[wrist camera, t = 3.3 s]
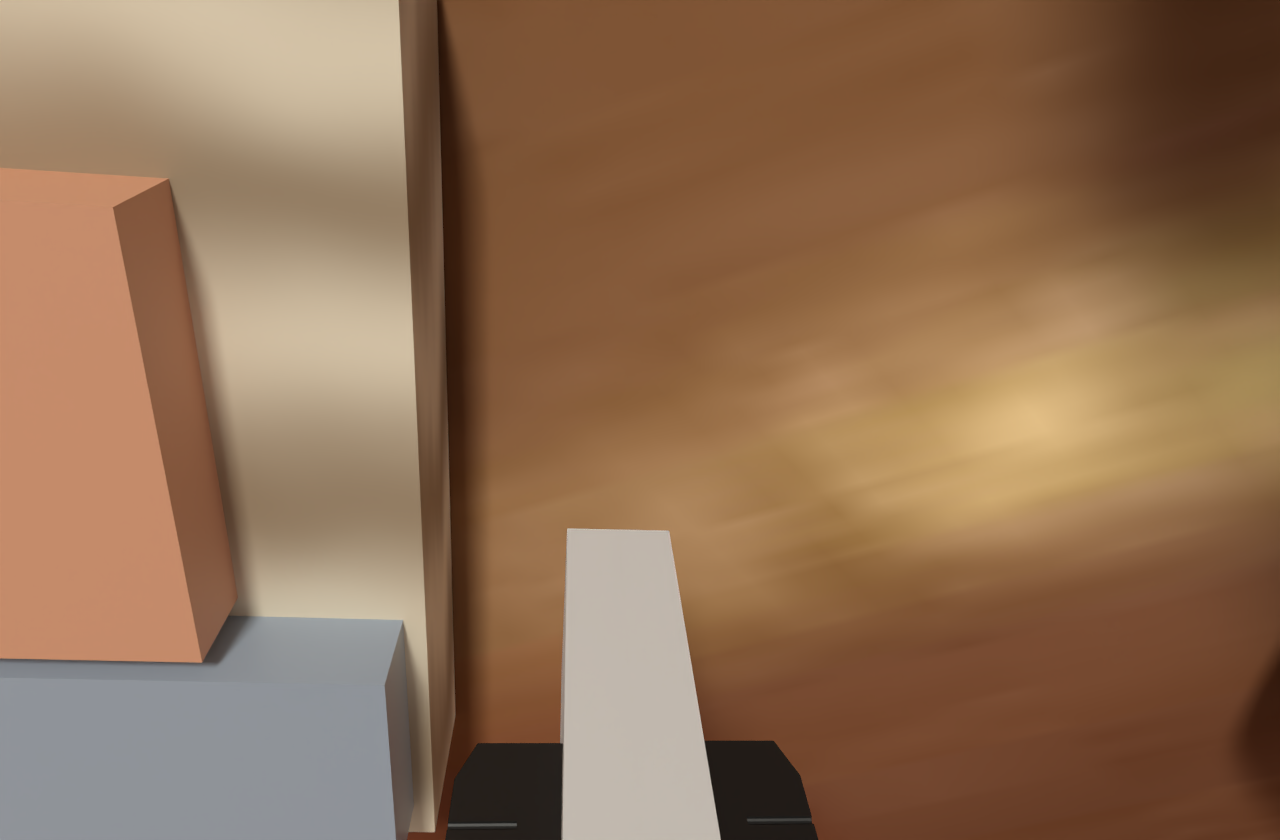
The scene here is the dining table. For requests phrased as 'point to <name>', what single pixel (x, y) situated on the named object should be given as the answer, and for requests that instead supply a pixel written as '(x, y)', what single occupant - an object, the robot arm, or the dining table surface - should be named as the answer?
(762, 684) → the dining table surface
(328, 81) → the beige flat box
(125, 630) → the orange flat block
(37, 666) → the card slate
